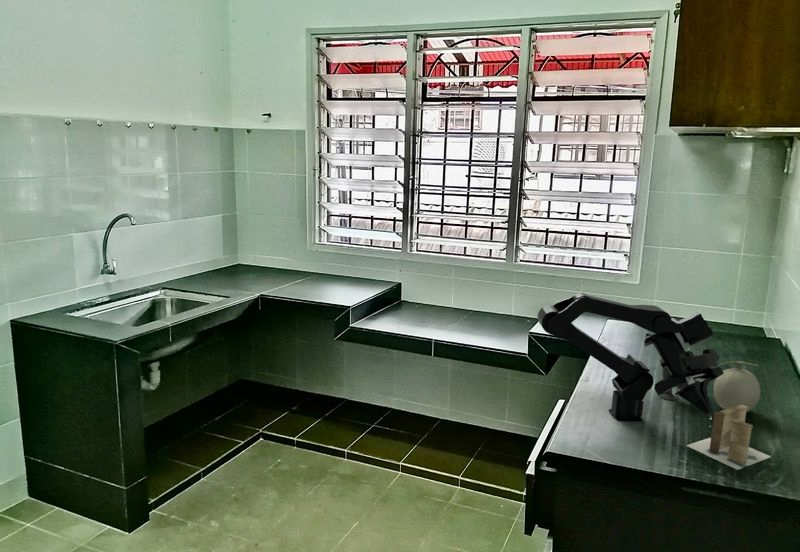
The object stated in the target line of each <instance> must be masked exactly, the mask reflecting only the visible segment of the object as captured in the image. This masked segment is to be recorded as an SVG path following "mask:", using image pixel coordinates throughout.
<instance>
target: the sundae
mask: <svg viewBox="0 0 800 552" xmlns="http://www.w3.org/2000/svg"><path fill="white" fill-rule="evenodd" d="M659 362H660V365H661V364H662V363H663V360H662V359H661V358H660V359H659ZM661 369H662V372H661V373H662V379H664V378H666V377H667V376H670V375H671V374H670V372H669V370H668V369H667V367H665V368H662V367H661ZM659 397H660V398H661V399H663V400H666V401H670V402H671V401H672V402H674V401H679V399H680V398H679V396H678V395H676V394H673V388H672V389H670V390H669V391H668V392H667V394H666V395H662V396H659Z"/></svg>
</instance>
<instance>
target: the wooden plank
mask: <svg viewBox="0 0 800 552" xmlns="http://www.w3.org/2000/svg"><path fill="white" fill-rule="evenodd" d="M723 416H724V414H723V413H721V412H719V411H715V412H714V415H713V419H712V420H713V421H712V429H711V437H710V438H711V442H710V449H709V452H711V453H713V454H718V451H719V444H720V437H721V430H722V423H723ZM732 423H733V424H732V431H731V438H730V445H729V452H728V458H730V459H732V460H734V461H737V462H739V463H741V464H743V465H744V464H746V462H747V456H748V449H749V447H750V442H751V434H752V429H753V428H754V427H753V426H754V425H753V424H750V423H747V422H746V421H745V422H743V421H740V420H738V419H734V420H732Z"/></svg>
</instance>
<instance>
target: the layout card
mask: <svg viewBox="0 0 800 552" xmlns="http://www.w3.org/2000/svg"><path fill="white" fill-rule="evenodd" d="M710 442H711V437H707V438H705V439H702V440H699V441H695V442H693V443H689V444H687V445H686V447H688V448H690V449H692V450H695V451H696V452H698V453H701V454H703V455H705V456H707V457H709V458H712V459H714V460H716V461H718V462H720V463H722V464H724V465H727V466H729V467H731V468H733V469H735V470H737V471H738V470H741V469H744V468H746V467H748V466H751V465H754V464H756V463H760V462H761V461H764V460H767V459H770V458H772V456H771V455H768V454H766V453H763V452H762V451H758V450H756V449H755V448H752V447H750V446H749V449H748V456H747V462H746V464H744V465H743V464H741V463H739V462H737V461H734V460H732V459H730V458H728V452H729V447H726V448H723V449H720V450H719V451H718V454H713V453H711V452H709V449H710Z"/></svg>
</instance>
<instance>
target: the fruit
mask: <svg viewBox="0 0 800 552" xmlns="http://www.w3.org/2000/svg"><path fill="white" fill-rule="evenodd" d="M727 364H728V365H729V364H735V366H736V367H733V368H727V369H725V370H722V371H723V373H724V374H723V375H721V376H719V377H718V378H716V379H714V384H713V395H714V399H715V402H716V403H717V405H718V406H719V407H720V408H721V409H722V410H725V409H729V408H732V407H735V406H739V405H745V406H748V410H747V411H746V413H748V412H750V411H752V410H753V409H754V408H756V406H757V405H758V402H759V400H760V398H761V386H760V382H759V380H758V378H756V377H755V375H754V374H752V373H751V372H750V371H749V370H746V369H743V368H741V365H748V366H754V367H759V364H754V363H750V362H746V361H742V360H741V361H740V360H735V361H734V360H732V361H727V362H721V363H719V364H718V366H719V367H721V366H724V365H727Z"/></svg>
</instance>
